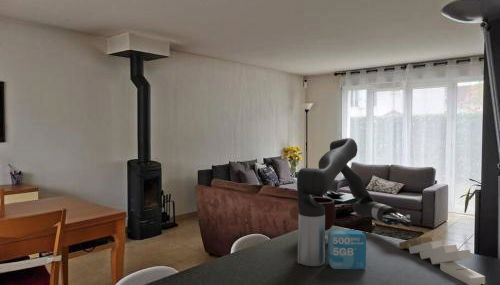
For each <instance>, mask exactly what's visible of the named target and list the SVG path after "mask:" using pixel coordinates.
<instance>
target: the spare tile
mask: <svg viewBox="0 0 500 285" xmlns="http://www.w3.org/2000/svg"><path fill="white" fill-rule="evenodd" d="M427 242H433V237H432V236H431V235H429V236H418V237H415V238H411V239H407V240H404V241H400V242H398V245H399V248H400V250H405V249H409V247H412V246H416V245H420V244H424V243H427Z"/></svg>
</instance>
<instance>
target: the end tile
mask: <svg viewBox="0 0 500 285" xmlns="http://www.w3.org/2000/svg"><path fill="white" fill-rule="evenodd" d="M439 268H440V269H439V270H440V271H442V272H444V273H446V274H448V275H449V276H452V277H453V278H455V279H457V280H459V281H461V282H462V283H465V284H466V285H481V284H483V285H485V284H486V276H485V275H484V274H481V273H478V272H476V271H474V270H472V269H470V268H468V267H465V265H462V264H459V263H458V262H456V261H452V262H441V263H440V267H439Z"/></svg>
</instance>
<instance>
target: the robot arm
mask: <svg viewBox="0 0 500 285" xmlns="http://www.w3.org/2000/svg"><path fill="white" fill-rule="evenodd" d="M357 154H358V144H357V142H356V140H354V139H353V138H350V137H345V138H341V139H337V140H333V141H331V142H330V144H329V151H327V152H326V153H324V154H323V155H322V156H321V158H320V159H319V160H318V168H313V167H308V168H307V167H302V168H300V169H299V170H298V173H297V176H296V191H297V192H296V193H297V209H298V235H297V264H301V265H304V266H308V267H319V266H322V265H324V264H325V263H326V262H325V260H326V254H325V252H326V248H325V247H326V245H325V235H326V231H325V207H324V206H323V205H322V204H320V203H318V202H316V201H315V200H313V199H312V198H311V196H324V195H326V194H327V193H328V192H329V190H330V189H331V186H332V184H333V183H334V180H335V179H336V178H337V176H338V175H339V174H340V173H341V175H342V176H343V177H344V179H345V181H346V183H347V186H348V188H349V191H350V192H351V193H350V194H351V196H352V197H353V198H354V199H357V201H355V202H354V203H353V207H352V208H353V211H354V212H355V214H356V215H358V216H360V217H364V218H365V217H366V218H373V219H375V220H377V221H378V222H380V223H382V224H385V225H388V226H391V225H394V226H398V225H400V226H404V227H407V228H411V227H412V224H413V222H412V221H411V215H410V214H405V215H403V214H401V213H400V212H398V211H397V209H396V208H395V207H392V206H390V205H387V204H383V203H379V202H376V200H375V199H374V197H373V196H372V195H371V194H370V193H369V191H368V189H367V188H366V185H365V181H364V179H363V178H362V177H361V175H360V174H359V173H358V172H356V171H355V170H354V169H352V168H351V167H350V166H349V165H348V163H349V162H350V161H351V160H353V159H355V158H356V157H357ZM310 195H311V196H310Z"/></svg>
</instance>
